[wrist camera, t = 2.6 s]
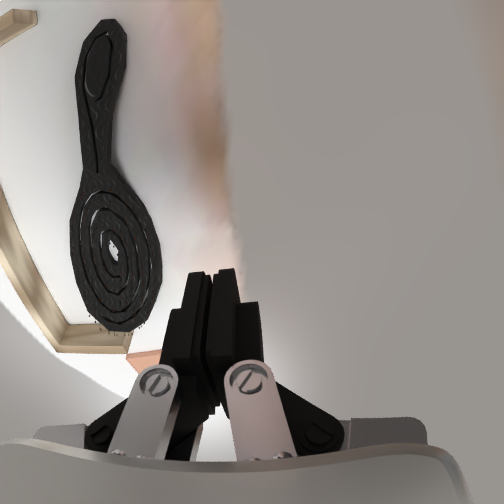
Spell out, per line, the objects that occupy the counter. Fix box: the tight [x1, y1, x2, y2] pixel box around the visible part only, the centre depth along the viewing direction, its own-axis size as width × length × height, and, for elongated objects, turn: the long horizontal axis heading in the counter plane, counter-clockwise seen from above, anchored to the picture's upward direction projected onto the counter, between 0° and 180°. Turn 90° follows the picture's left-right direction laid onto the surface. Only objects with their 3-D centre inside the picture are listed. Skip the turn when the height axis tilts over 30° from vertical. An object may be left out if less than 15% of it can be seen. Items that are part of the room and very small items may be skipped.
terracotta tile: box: [126, 350, 162, 374], centre depth 33 cm, size 7×7×1 cm
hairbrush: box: [70, 19, 162, 336], centre depth 20 cm, size 8×4×25 cm
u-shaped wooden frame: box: [0, 9, 134, 354], centre depth 20 cm, size 30×9×3 cm, turn 6°
